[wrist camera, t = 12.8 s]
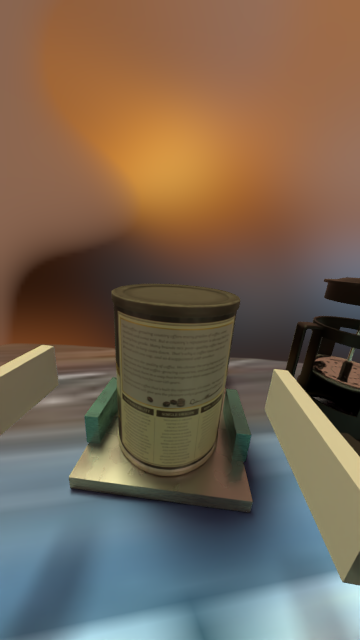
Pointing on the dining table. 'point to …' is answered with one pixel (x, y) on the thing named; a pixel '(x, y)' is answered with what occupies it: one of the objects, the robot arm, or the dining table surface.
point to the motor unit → (190, 488)
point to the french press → (332, 358)
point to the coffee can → (171, 372)
